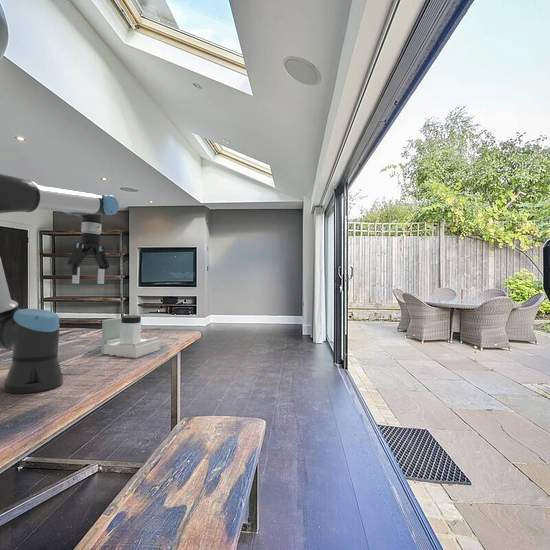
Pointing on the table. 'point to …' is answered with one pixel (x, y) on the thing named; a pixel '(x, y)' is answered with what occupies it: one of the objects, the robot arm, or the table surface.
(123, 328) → the jar
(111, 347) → the display stand
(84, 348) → the table surface
